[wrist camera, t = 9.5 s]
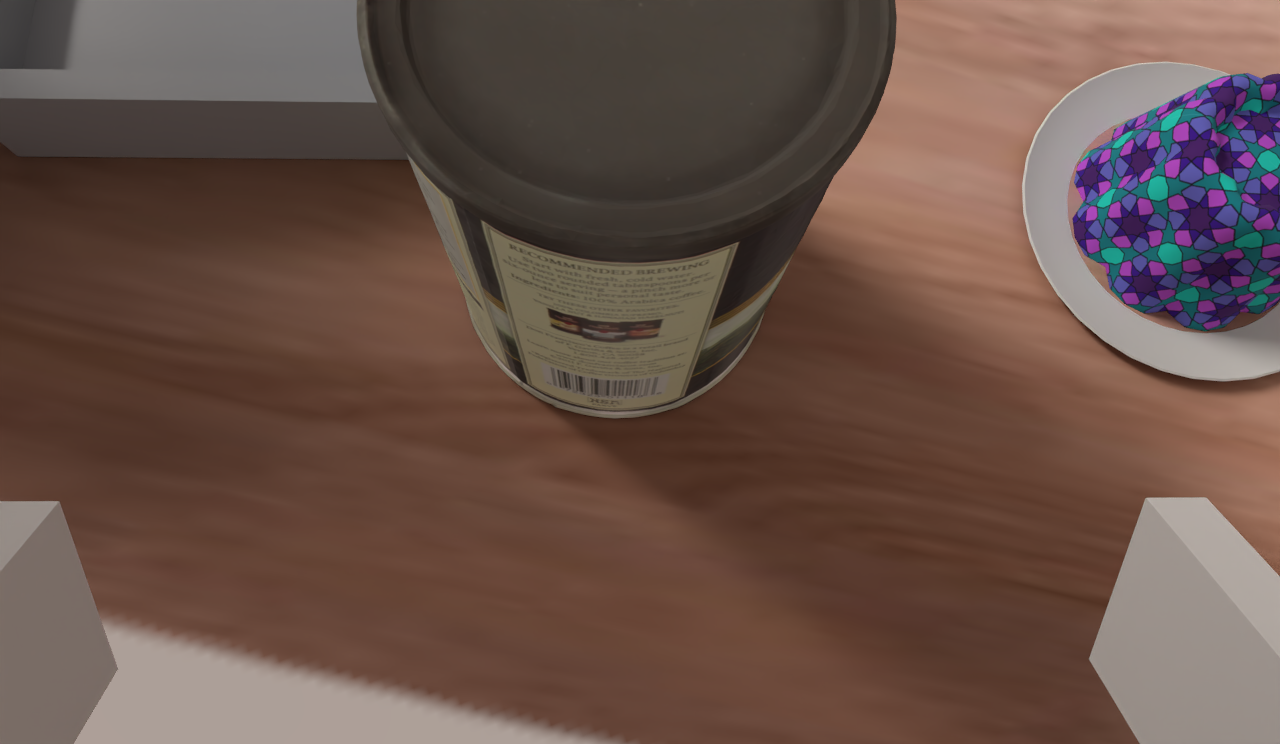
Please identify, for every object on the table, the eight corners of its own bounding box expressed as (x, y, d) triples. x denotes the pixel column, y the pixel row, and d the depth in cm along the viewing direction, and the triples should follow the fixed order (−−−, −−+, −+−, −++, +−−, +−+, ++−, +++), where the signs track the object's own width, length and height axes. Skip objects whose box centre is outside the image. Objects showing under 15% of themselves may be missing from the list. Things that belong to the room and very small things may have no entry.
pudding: (1200, 459, 31) (1318, 426, 26) (942, 201, 33) (1005, 123, 28) (1414, 244, 33) (1560, 175, 28) (1162, 16, 35) (1257, -86, 30)
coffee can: (699, 96, 33) (771, -274, 20) (816, 357, 31) (990, 143, 17) (419, 185, 32) (287, -147, 18) (519, 466, 29) (452, 327, 16)
